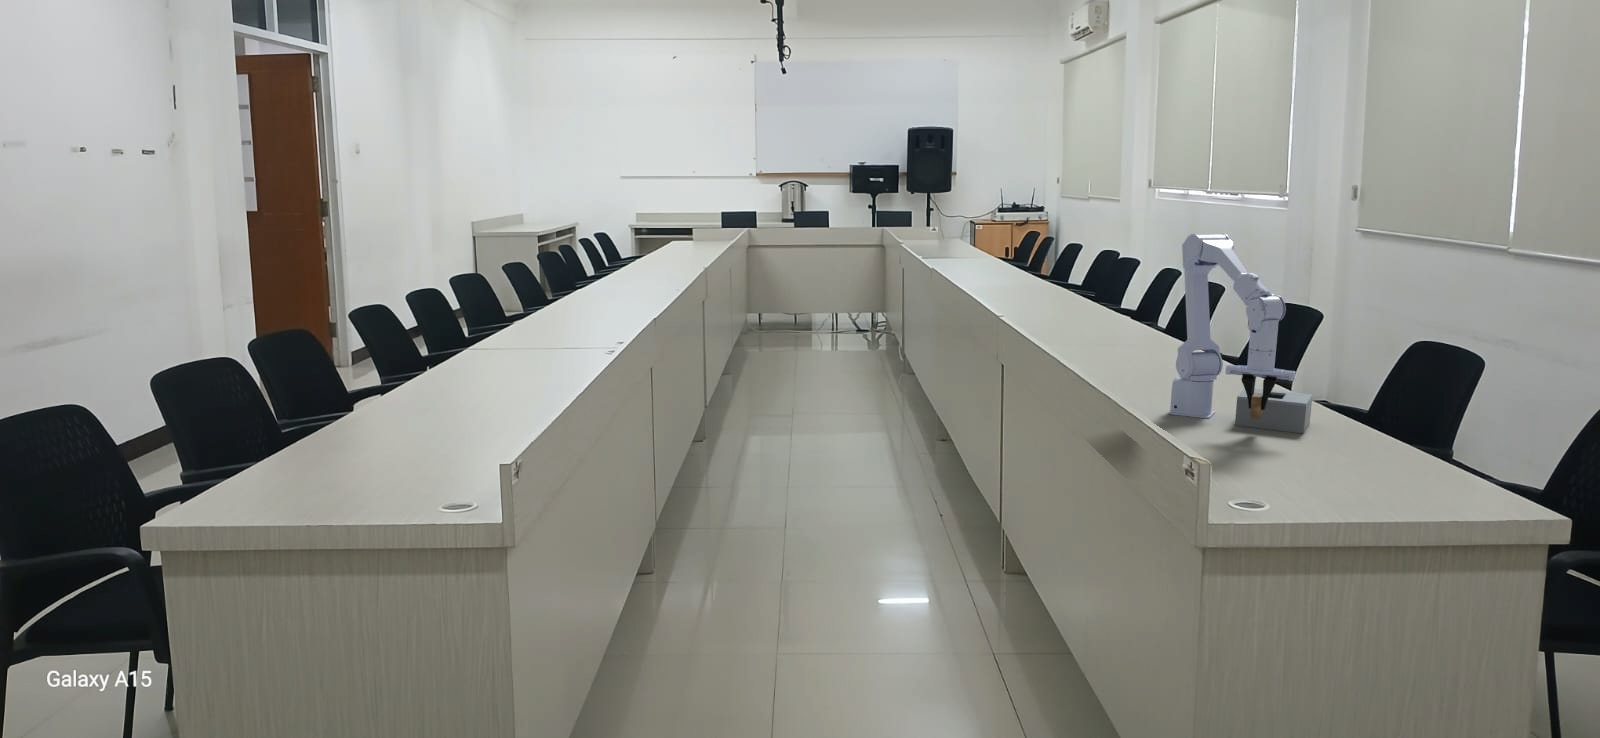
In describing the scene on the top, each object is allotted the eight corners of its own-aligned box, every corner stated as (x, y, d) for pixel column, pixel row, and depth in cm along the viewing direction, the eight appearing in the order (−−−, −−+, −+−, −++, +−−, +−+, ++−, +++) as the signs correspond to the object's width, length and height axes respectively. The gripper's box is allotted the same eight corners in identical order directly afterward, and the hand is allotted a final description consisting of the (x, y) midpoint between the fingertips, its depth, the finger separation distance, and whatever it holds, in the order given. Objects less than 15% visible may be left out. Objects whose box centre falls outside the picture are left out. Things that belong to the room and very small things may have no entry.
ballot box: (1234, 425, 273) (1237, 396, 271) (1243, 415, 283) (1245, 387, 282) (1303, 433, 265) (1306, 403, 264) (1309, 423, 276) (1312, 394, 274)
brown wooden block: (1249, 417, 262) (1251, 396, 261) (1253, 413, 266) (1255, 392, 265) (1259, 419, 261) (1261, 397, 260) (1262, 414, 265) (1264, 393, 264)
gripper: (1225, 348, 261) (1220, 407, 263) (1294, 355, 254) (1288, 415, 256) (1230, 344, 267) (1225, 402, 269) (1298, 350, 260) (1293, 409, 262)
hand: (1256, 408), depth 263 cm, fingers closed on brown wooden block, 2 cm apart
